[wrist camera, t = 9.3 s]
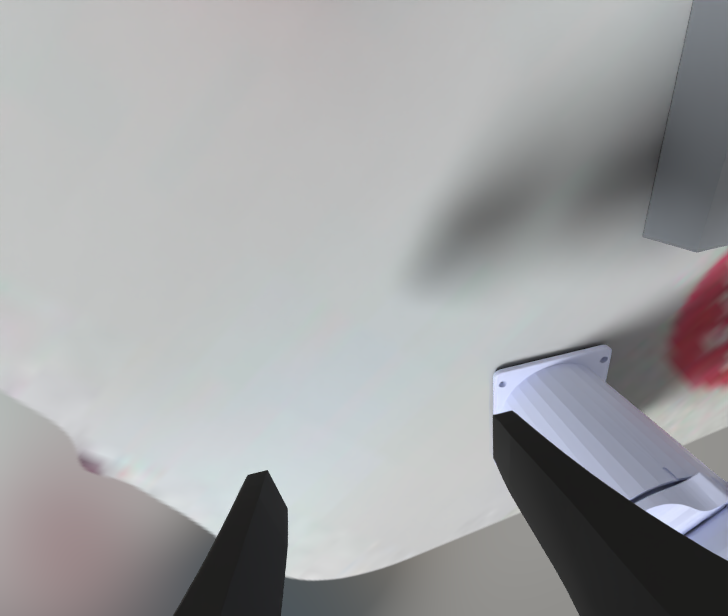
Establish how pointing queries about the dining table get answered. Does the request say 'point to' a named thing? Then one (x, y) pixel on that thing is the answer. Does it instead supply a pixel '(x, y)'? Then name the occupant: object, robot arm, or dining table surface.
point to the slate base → (696, 140)
